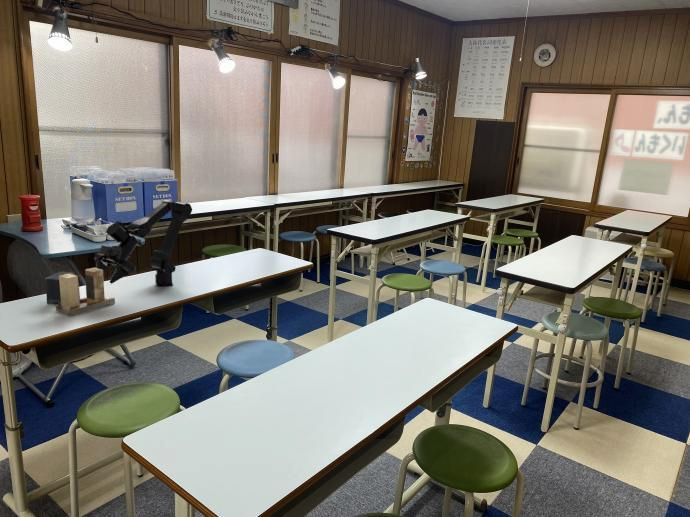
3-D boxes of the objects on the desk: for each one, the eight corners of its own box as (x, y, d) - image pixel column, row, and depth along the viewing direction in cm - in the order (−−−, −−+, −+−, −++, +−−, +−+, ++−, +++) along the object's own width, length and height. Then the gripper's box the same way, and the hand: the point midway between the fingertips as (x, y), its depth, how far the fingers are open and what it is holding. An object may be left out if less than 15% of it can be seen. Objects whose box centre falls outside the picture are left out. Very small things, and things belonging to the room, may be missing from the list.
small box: (62, 305, 196) (60, 279, 193) (46, 304, 196) (43, 278, 193) (77, 296, 206) (75, 272, 203) (61, 295, 206) (59, 271, 203)
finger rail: (100, 298, 205) (98, 265, 202) (115, 303, 201) (113, 269, 197) (56, 311, 189) (52, 275, 186) (71, 316, 185) (68, 279, 182)
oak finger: (96, 298, 201) (94, 267, 198) (104, 301, 199) (102, 269, 196) (86, 301, 197) (83, 269, 194) (94, 304, 195) (92, 272, 192)
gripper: (96, 234, 204) (73, 266, 197) (127, 241, 195) (104, 274, 189) (114, 249, 213) (93, 280, 206) (145, 256, 204) (123, 289, 198)
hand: (102, 280), depth 199 cm, fingers open, 9 cm apart
